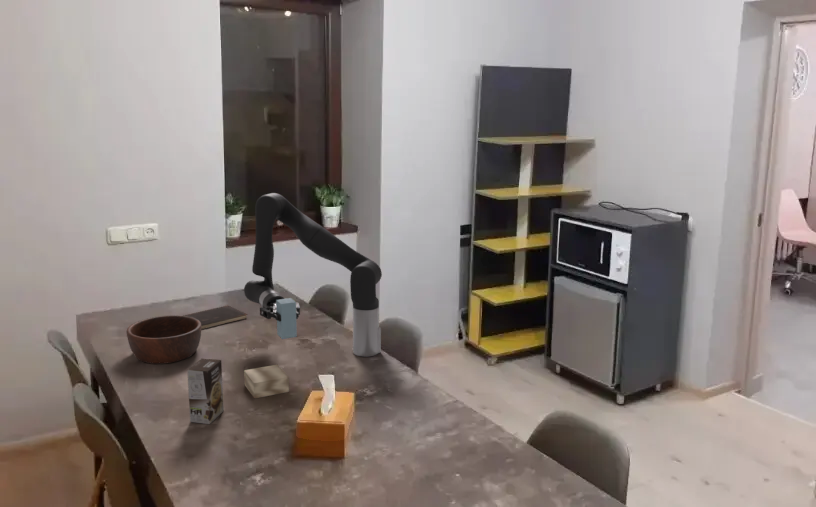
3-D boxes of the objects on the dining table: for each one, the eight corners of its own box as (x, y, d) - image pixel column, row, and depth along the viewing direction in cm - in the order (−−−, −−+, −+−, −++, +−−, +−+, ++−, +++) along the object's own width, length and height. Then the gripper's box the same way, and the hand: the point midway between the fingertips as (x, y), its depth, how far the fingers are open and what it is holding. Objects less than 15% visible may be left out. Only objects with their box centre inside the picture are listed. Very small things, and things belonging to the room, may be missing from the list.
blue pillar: (291, 332, 237) (290, 297, 234) (296, 336, 232) (295, 302, 230) (277, 334, 234) (276, 299, 232) (282, 339, 230) (281, 304, 227)
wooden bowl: (201, 338, 266) (199, 312, 264) (204, 363, 243) (203, 334, 240) (130, 345, 258) (128, 318, 256) (126, 371, 235) (124, 342, 233)
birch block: (277, 378, 231) (277, 364, 230) (288, 391, 221) (288, 376, 220) (244, 384, 226) (244, 370, 225) (254, 398, 216) (253, 383, 215)
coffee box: (210, 424, 199) (207, 371, 196) (189, 422, 201) (186, 369, 197) (224, 410, 208) (222, 359, 204) (204, 408, 209) (201, 357, 206)
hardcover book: (247, 319, 289) (247, 314, 288) (195, 332, 273) (195, 326, 273) (227, 310, 300) (227, 304, 300) (176, 321, 285) (176, 316, 284)
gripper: (252, 295, 240) (266, 309, 226) (292, 289, 247) (309, 303, 232) (252, 315, 242) (267, 331, 227) (292, 310, 249) (309, 325, 234)
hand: (288, 317), depth 230 cm, fingers closed on blue pillar, 5 cm apart
